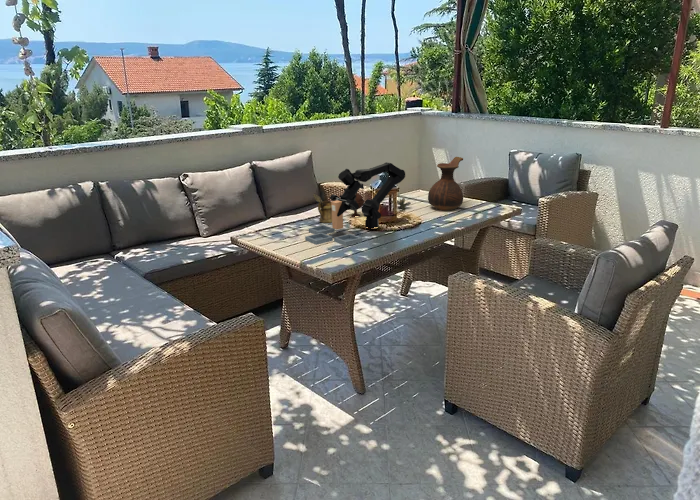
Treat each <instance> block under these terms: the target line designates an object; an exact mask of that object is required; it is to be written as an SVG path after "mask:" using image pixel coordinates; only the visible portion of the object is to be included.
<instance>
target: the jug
mask: <svg viewBox="0 0 700 500" xmlns="http://www.w3.org/2000/svg"><path fill="white" fill-rule="evenodd" d="M463 160H464V157H459V156H454V157H453V158H452V160H451V161H450V162H447V163H446V162H445V163H444V162H442V163H441V162H440V163H438V164H436V166H437V168H438V169H440V171H441V176H440V179H439V180H437V181H435V183H433V185H432V186H431V187H430V188H429V191H428V193H427V199H428V200H427V202H428V203H429V205H430V206H431V207H433V208H435V210H439V211H444V212H445V211H446V212H447V211H448V210H449V211H454V210H456V209H457V208H459V207H460V206H462V204H463V202H464V194H463V190H462V189H461V187H460V184H458V183H457V182H456V181H455V179H454V172H455V170H456V169H458V168H459V164H460V162H461V161H463ZM449 211H448V212H449Z"/></svg>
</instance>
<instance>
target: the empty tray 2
mask: <svg viewBox="0 0 700 500" xmlns="http://www.w3.org/2000/svg"><path fill="white" fill-rule="evenodd" d="M346 234H347V233H346ZM333 242H334V243H337V244H339V245H342V246H345V247H348V246H351V245H355V244H359V243H362V242H363V238H362V237H361V236H358V235H354V234H352V233H348V234H347V235H343V236H339V237H335V238H334V239H333Z"/></svg>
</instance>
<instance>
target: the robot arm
mask: <svg viewBox="0 0 700 500" xmlns="http://www.w3.org/2000/svg"><path fill="white" fill-rule="evenodd" d="M384 170H385V171H384ZM387 172H388V173H389V174H390V175H389V174H388V173H387ZM384 173H387V174H388V175H389V176H390V177H388V176H387V180H386V181H385V183H384V184H383V185H382V186H381V187H380V189H379V190H378V191H377V192H376V194H375V195H374V196H373V198H372V199H369V198H367V199H366V200H364V204H363V206H362V207H361V212H362V214H363V217H365V220H364V221H365V222H364V227H368V228H370V229H371V228H374V227H378V226H379V227H380V224H379V222H380V220H379V219H381V217H382V213H381V212H379V209H380V205H381V203H382V202H383V201H384V199H386V197H387V196H388V195H389V194H390V192H392V190H393V188H394V187H395V186H396V185H398V184H400V183H401V182H402V181H403V180H405V178H406V171H405V170H404V169H402V168H400V167H398V166H396V165H394V164H393V163H391V162H388V161H387V162H384V163H381V164H379V165H376V166H372V167H370V168H363V169H357V170H355V172H351V170H350V169H349V168H345V169H344V170H342V171H341V172H340V173H338V177H337V178H338V179H339V180H340V182H341V183H342V184H343V185H345V187H346V186H347V187H346V188H343V193H342V194H339V196H338V195H337V194H330V196H329V199H330V200H331V202H332V201H337V200H338V201H342V203H341V206H340V208H339V211H338V214H337V216H338V217H339V216H340V215H341V214H343V215H344V213H346V212H347V211H349V210H351V211H353V212H354V211H355V210H357V211H358V210H359V209H358V208H359V205H358V204H357V202H356V200H355V199H356V193H359V190H360V189H361V190H364V189H365V186H364V183H366V182H368V181H370V180H371V179H372V178H373V177H375V176H378V175H381V174H384ZM361 182H362V183H361ZM365 230H366V231H370V230H369V229H367V228H365Z"/></svg>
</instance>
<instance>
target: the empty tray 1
mask: <svg viewBox="0 0 700 500" xmlns="http://www.w3.org/2000/svg"><path fill="white" fill-rule="evenodd" d="M307 229H308V233H310V234H312V235H314V234H318V233H324V234H326V235H330V234H335V233H336V232H335V230H336V229H334V228H333V227H331V226H328V225H326V224H322V225H317V226H313V227H309V228H307Z"/></svg>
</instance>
